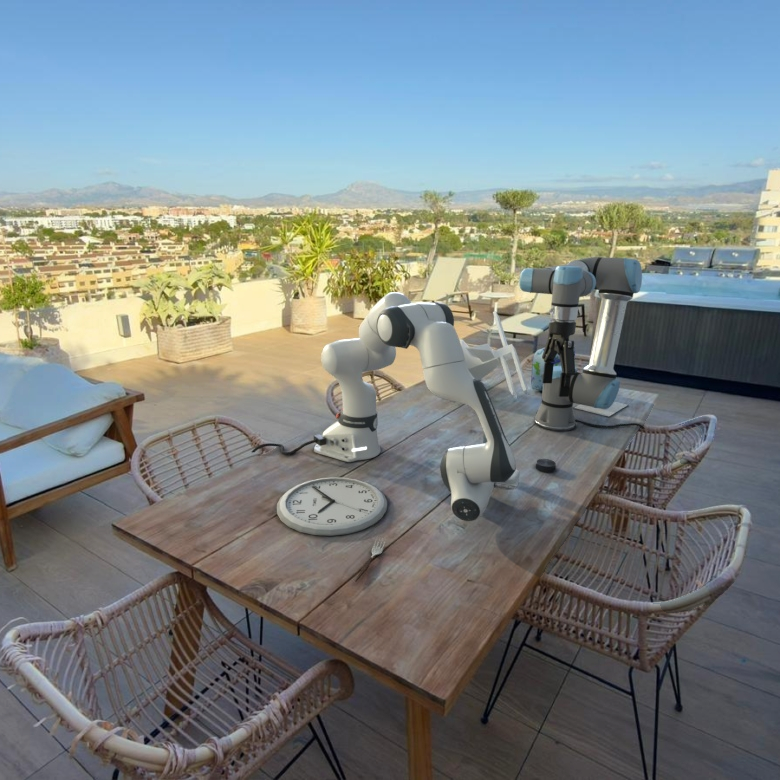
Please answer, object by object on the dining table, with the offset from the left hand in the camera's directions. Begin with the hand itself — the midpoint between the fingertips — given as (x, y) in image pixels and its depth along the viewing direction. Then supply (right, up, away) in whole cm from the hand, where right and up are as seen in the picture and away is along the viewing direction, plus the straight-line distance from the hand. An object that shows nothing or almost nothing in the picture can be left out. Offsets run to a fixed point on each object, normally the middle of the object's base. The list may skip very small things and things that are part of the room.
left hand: (486, 462), depth 154 cm
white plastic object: (+13, +20, +89) cm, 92 cm away
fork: (-33, -18, -36) cm, 52 cm away
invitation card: (+63, +14, +72) cm, 97 cm away
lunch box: (+49, +22, +96) cm, 110 cm away
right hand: (+22, +22, +5) cm, 31 cm away
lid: (+21, -2, +12) cm, 24 cm away
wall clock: (-44, -10, -12) cm, 47 cm away
